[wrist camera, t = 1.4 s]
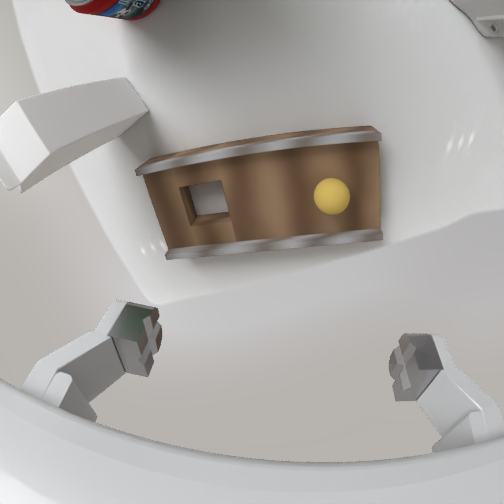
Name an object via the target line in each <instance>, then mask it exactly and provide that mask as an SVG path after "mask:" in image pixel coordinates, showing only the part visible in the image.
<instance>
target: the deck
mask: <svg viewBox="0 0 504 504" xmlns="http://www.w3.org/2000/svg"><path fill="white" fill-rule="evenodd" d="M378 141H381V133H380V132H379V131H377V130H376V129H375V128H373V127H372V126H358V127H344V128H332V129H321V130H311V131H302V132H293V133H285V134H277V135H270V136H263V137H257V138H250V139H244V140H238V141H232V142H226V143H221V144H216V145H210V146H205V147H200V148H195V149H191V150H186V151H181V152H177V153H173V154H168V155H164V156H160V157H156V158H152V159H149V160H148V161H146V162H145V163H144V164H142V165H141V166H140V167H138V168H137V169H136V170H135V172H136V175H137V176H139V175H143V177H144V180H145V183H146V186H147V189H148V192H149V195H150V198H151V201H152V204H153V207H154V210H155V213H156V216H157V218H158V221H159V224H160V227H161V230H162V232H163V235H164V238H165V241H166V243H167V246H168V251H167V252H166V254H165V257H166V259H167V260H172V259H183V258H194V257H205V256H215V255H226V254H237V253H248V252H259V251H269V250H280V249H291V248H302V247H313V246H324V245H334V244H345V243H356V242H367V241H378V240H383V233H382V231H381V229H380V164H379V145H378ZM327 178H336V179H339V180H341V181H342V182H344V183H345V184H346V186H347V187H348V189H349V192H350V201H349V204H348V206H347V207H346V209H345V210H344V211H342V212H341V213H338V214H333V215H331V214H326V213H324V212H322V211H321V210H320V209H319V208H318V207H317V206H316V204H315V201H314V190H315V188H316V186H317V185H318V184H319V183H320V182H321V181H322V180H324V179H327ZM219 180H221V181H222V185H223V189H224V193H225V197H226V201H227V205H228V209H229V212H224V213H216V214H209V215H201V216H197V215H196V211H195V208H194V204H193V201H192V198H191V194H190V191H189V187H188V186H189V185H195V184H201V183H207V182H213V181H219Z"/></svg>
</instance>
